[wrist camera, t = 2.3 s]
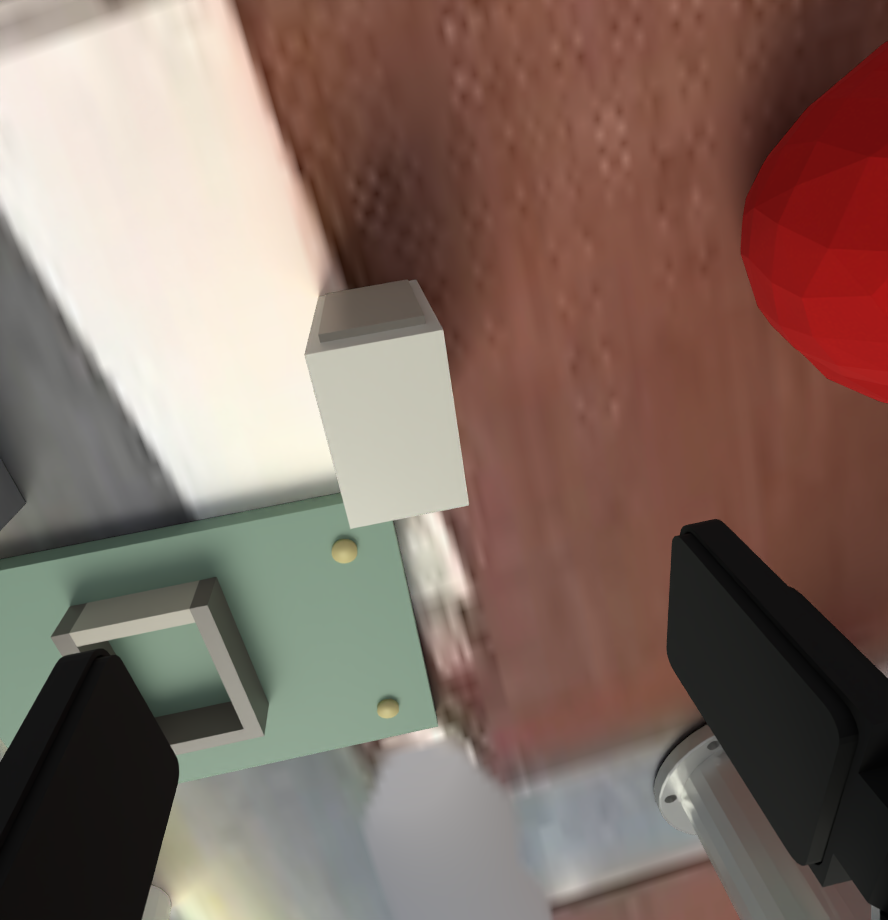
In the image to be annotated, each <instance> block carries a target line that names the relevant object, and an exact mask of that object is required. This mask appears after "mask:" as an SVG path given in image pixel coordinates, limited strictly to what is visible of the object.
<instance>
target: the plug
mask: <svg viewBox="0 0 888 920" xmlns="http://www.w3.org/2000/svg"><path fill="white" fill-rule="evenodd" d="M305 359H306V363H307V367H308V370H309V374H310V378H311V382H312V385H313V389H314V393H315V397H316V401H317V404H318V408H319V412H320V416H321V419H322V423H323V427H324V431H325V435H326V438H327V442H328V446H329V450H330V454H331V457H332V461H333V465H334V469H335V472H336V476H337V480H338V484H339V488H340V491H341V495H342V499H343V503H344V506H345V510H346V514H347V518H348V522H349V525H350V529H353V528H358V527H363V526H368V525H373V524H378V523H383V522H388V521H393V520H398V519H403V518H408V517H413V516H418V515H423V514H428V513H433V512H438V511H443V510H448V509H453V508H458V507H463V506H468V505H469V501H468V495H467V488H466V481H465V474H464V468H463V461H462V454H461V447H460V440H459V434H458V427H457V420H456V413H455V406H454V400H453V393H452V386H451V379H450V373H449V366H448V359H447V352H446V345H445V339H444V332H443V328H442V327H441V325H440V323H439V321H438V319H437V317H436V315H435V313H434V312H433V310H432V308H431V306H430V304H429V302H428V300H427V298H426V297H425V295H424V293H423V291H422V289H421V287H420V285H419V283H418V282H417V280H411V281H408V279H407V280H401V281H395V282H390V283H384V284H378V285H373V286H367V287H361V288H356V289H350V290H344V291H339V292H333V293H327V294H326V296H320V297H318V301H317V305H316V309H315V313H314V317H313V322H312V326H311V330H310V334H309V338H308V342H307V347H306V351H305Z"/></svg>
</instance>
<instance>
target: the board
mask: <svg viewBox="0 0 888 920" xmlns="http://www.w3.org/2000/svg"><path fill="white" fill-rule="evenodd" d="M213 577H217V579H218V581H219V584H220V586H221V589H222V591H223V594H224V596H225V598H226V601H227V603H228V606H229V608H230V611H231V613H232V615H233V618H234V620H235V623H236V625H237V628H238V630H239V632H240V635H241V637H242V640H243V642H244V645H245V647H246V649H247V652H248V654H249V657H250V659H251V662H252V664H253V666H254V669H255V671H256V674H257V676H258V678H259V681H260V683H261V686H262V688H263V691H264V693H265V695H266V698H267V700H268V703H269V708H268V715H267V722H266V728H265V735H264V736H263V737H258V738H254V739H249V740H244V741H240V742H235V743H231V744H226V745H221V746H217V747H212V748H208V749H203V750H198V751H194V752H189V753H185V754H180V755H176V757H177V759H178V763H179V780H178V783H183V782H188V781H192V780H197V779H201V778H206V777H210V776H215V775H219V774H224V773H229V772H233V771H238V770H242V769H247V768H251V767H256V766H260V765H265V764H269V763H274V762H279V761H283V760H288V759H292V758H297V757H301V756H306V755H310V754H315V753H319V752H324V751H329V750H333V749H338V748H342V747H347V746H351V745H356V744H360V743H365V742H370V741H374V740H379V739H383V738H388V737H392V736H397V735H401V734H406V733H410V732H415V731H420V730H424V729H429V728H433V727H438V722H437V716H436V710H435V706H434V701H433V697H432V692H431V688H430V683H429V678H428V674H427V669H426V665H425V660H424V656H423V651H422V647H421V642H420V638H419V633H418V629H417V624H416V620H415V615H414V611H413V606H412V602H411V597H410V593H409V588H408V584H407V579H406V575H405V570H404V566H403V561H402V557H401V552H400V548H399V543H398V538H397V534H396V529H395V525H394V520H393V521H388V522H383V523H378V524H373V525H368V526H363V527H358V528H353V529H350V525H349V522H348V518H347V514H346V510H345V506H344V503H343V499H342V495H341V493H337V494H332V495H327V496H322V497H316V498H311V499H306V500H301V501H296V502H291V503H286V504H281V505H276V506H270V507H265V508H260V509H255V510H250V511H245V512H240V513H235V514H230V515H224V516H219V517H214V518H209V519H204V520H199V521H194V522H189V523H184V524H178V525H173V526H168V527H163V528H158V529H153V530H148V531H143V532H138V533H132V534H127V535H122V536H117V537H112V538H107V539H102V540H97V541H92V542H86V543H81V544H76V545H71V546H66V547H61V548H56V549H51V550H45V551H40V552H35V553H30V554H25V555H20V556H15V557H10V558H5V559H0V739H1V740H2V741H3V743H4V744H5V745H6V747H7V748H9V746H10V744H11V742H12V741H13V739H14V737H15V735H16V733H17V732H18V730H19V728H20V726H21V725H22V723H23V721H24V719H25V717H26V716H27V714H28V712H29V710H30V709H31V707H32V705H33V703H34V701H35V700H36V698H37V696H38V694H39V693H40V691H41V689H42V687H43V685H44V684H45V682H46V680H47V678H48V677H49V675H50V673H51V671H52V669H53V668H54V666H55V664H56V663H57V661H58V660H59V659H60V658H62V655H61V654H60V652H59V650H58V649H57V647H56V646H55V644H54V642H53V641H52V639H51V635H52V634H53V632H54V631H55V629H56V627H57V626H58V624H59V623H60V621H61V619H62V618H63V616H64V615H65V613H66V611H67V610H68V608H69V607H70V606H74V605H79V604H84V603H89V602H94V601H99V600H104V599H109V598H114V597H119V596H124V595H129V594H134V593H139V592H144V591H149V590H154V589H159V588H164V587H169V586H174V585H179V584H184V583H189V582H194V581H198V580H203V579H208V578H213ZM108 641H109V643H110V645H111V647H112V648H113V650H114V652H115V654H116V655H117V656H119V657H120V658H121V660H122V661H123V663H124V665H125V666H126V668H127V670H128V672H129V673H130V675H131V677H132V679H133V681H134V682H135V684H136V686H137V688H138V689H139V691H140V693H141V695H142V696H143V698H144V700H145V702H146V703H147V705H148V707H149V709H150V711H151V712H152V714H153V716H154V718H155V717H160V716H164V715H169V714H174V713H178V712H183V711H188V710H192V709H197V708H202V707H206V706H211V705H216V704H221V703H225V702H230V701H231V700H230V697H229V695H228V693H227V691H226V689H225V686H224V684H223V682H222V680H221V678H220V675H219V673H218V671H217V669H216V667H215V664H214V662H213V660H212V658H211V656H210V653H209V651H208V649H207V647H206V645H205V642H204V640H203V638H202V636H201V634H200V631H199V629H198V627H197V625H196V623H190V624H186V625H181V626H176V627H171V628H166V629H161V630H156V631H151V632H147V633H142V634H137V635H132V636H127V637H122V638H117V639H112V640H108Z"/></svg>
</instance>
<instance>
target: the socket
mask: <svg viewBox="0 0 888 920" xmlns="http://www.w3.org/2000/svg"><path fill="white" fill-rule="evenodd" d="M190 623H196V625H197V627H198V629H199V631H200V634H201V636H202V638H203V640H204V642H205V645H206V647H207V649H208V651H209V653H210V656H211V658H212V660H213V662H214V664H215V667H216V669H217V671H218V673H219V675H220V678H221V680H222V682H223V684H224V686H225V689H226V691H227V693H228V695H229V697H230V700H231V701H230V702H225V703H221V704H216V705H211V706H206V707H202V708H197V709H192V710H188V711H183V712H178V713H174V714H169V715H164V716H160V717H155V719H156V721H157V723H158V725H159V726H160V728H161V730H162V732H163V733H164V735H165V737H166V739H167V741H168V742H169V744H170V746H171V748H172V749H173V751H174V753H175V755H180V754H185V753H189V752H194V751H198V750H203V749H208V748H212V747H217V746H221V745H226V744H231V743H235V742H240V741H244V740H249V739H254V738H258V737H263V736H264V735H265V728H266V722H267V715H268V708H269V703H268V700H267V698H266V695H265V693H264V691H263V688H262V686H261V683H260V681H259V678H258V676H257V674H256V671H255V669H254V666H253V664H252V662H251V659H250V657H249V654H248V652H247V649H246V647H245V645H244V642H243V640H242V637H241V635H240V632H239V630H238V628H237V625H236V623H235V620H234V618H233V615H232V613H231V611H230V608H229V606H228V603H227V601H226V598H225V596H224V594H223V591H222V589H221V586H220V584H219V581H218V579H217V577H213V578H208V579H203V580H198V581H194V582H189V583H184V584H179V585H174V586H169V587H164V588H159V589H154V590H149V591H144V592H139V593H134V594H129V595H124V596H119V597H114V598H109V599H104V600H99V601H94V602H89V603H84V604H79V605H74V606H70V607H69V608H68V610H67V611H66V613H65V615H64V616H63V618H62V619H61V621H60V623H59V624H58V626H57V627H56V629H55V631H54V632H53V634H52V635H51V639H52V641H53V642H54V644H55V646H56V647H57V649H58V650H59V652H60V654H61V655H62V657H63V656H65V655H70V654H75V653H80V652H84V651H89V650H94V649H100V648H103V649H105V650H107V651H108V653H109V654H110V655H116V654H115V652H114V650H113V648H112V647H111V645H110V643H109V641H108V640H112V639H117V638H122V637H127V636H132V635H137V634H142V633H147V632H151V631H156V630H161V629H166V628H171V627H176V626H181V625H186V624H190Z"/></svg>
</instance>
